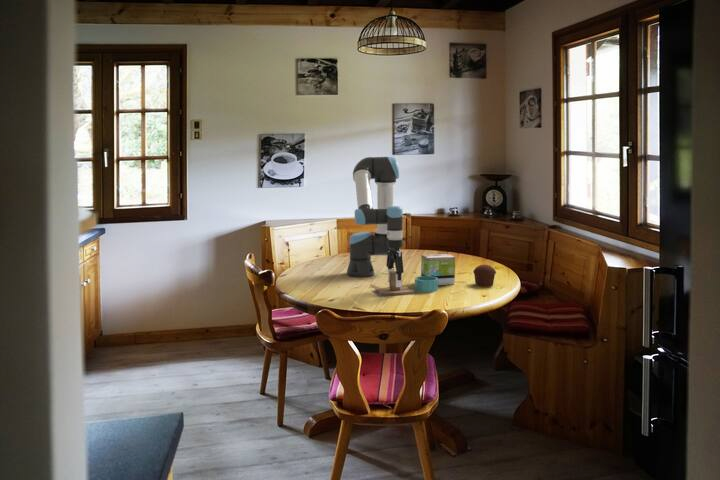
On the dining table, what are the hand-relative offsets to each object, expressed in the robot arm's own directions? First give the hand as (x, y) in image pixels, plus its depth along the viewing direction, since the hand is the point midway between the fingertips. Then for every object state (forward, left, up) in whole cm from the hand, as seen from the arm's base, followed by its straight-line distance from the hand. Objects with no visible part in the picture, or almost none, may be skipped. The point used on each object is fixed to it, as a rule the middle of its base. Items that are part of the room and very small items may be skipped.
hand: (394, 284), depth 291 cm
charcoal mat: (0, 0, -4) cm, 4 cm away
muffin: (-2, +49, -5) cm, 50 cm away
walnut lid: (0, 0, -4) cm, 4 cm away
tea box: (-12, +28, -5) cm, 31 cm away
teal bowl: (0, +17, -4) cm, 17 cm away
